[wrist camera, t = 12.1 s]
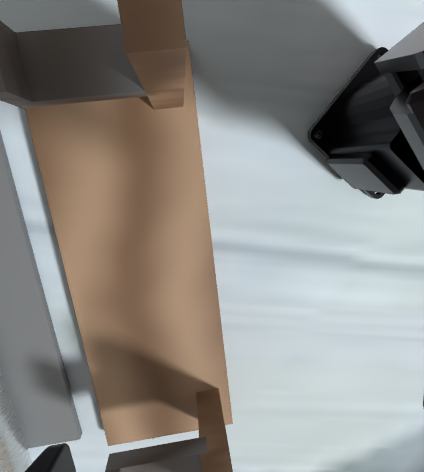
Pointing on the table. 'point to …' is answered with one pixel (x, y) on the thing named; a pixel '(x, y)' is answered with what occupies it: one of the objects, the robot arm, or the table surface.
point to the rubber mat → (29, 332)
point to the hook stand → (131, 224)
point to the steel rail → (11, 436)
